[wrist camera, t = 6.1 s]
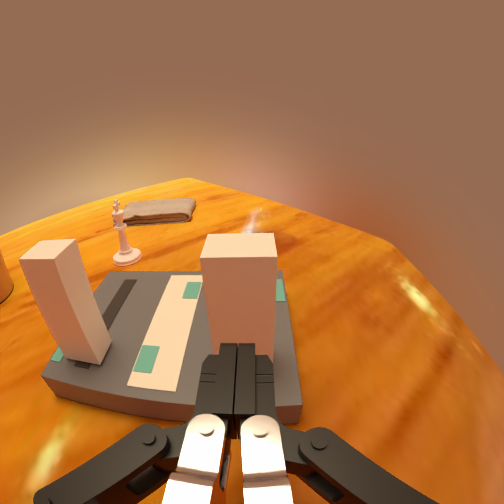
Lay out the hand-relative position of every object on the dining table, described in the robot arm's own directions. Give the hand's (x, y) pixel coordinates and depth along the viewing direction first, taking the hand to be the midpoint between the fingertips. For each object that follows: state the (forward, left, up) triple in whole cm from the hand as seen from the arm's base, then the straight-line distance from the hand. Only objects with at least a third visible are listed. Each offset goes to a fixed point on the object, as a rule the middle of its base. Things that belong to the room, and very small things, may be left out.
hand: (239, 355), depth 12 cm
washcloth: (-53, +9, -11) cm, 55 cm away
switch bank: (-13, 0, -11) cm, 17 cm away
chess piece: (-35, -1, -11) cm, 37 cm away
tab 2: (-5, +3, -7) cm, 9 cm away
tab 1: (-13, -9, -7) cm, 17 cm away
